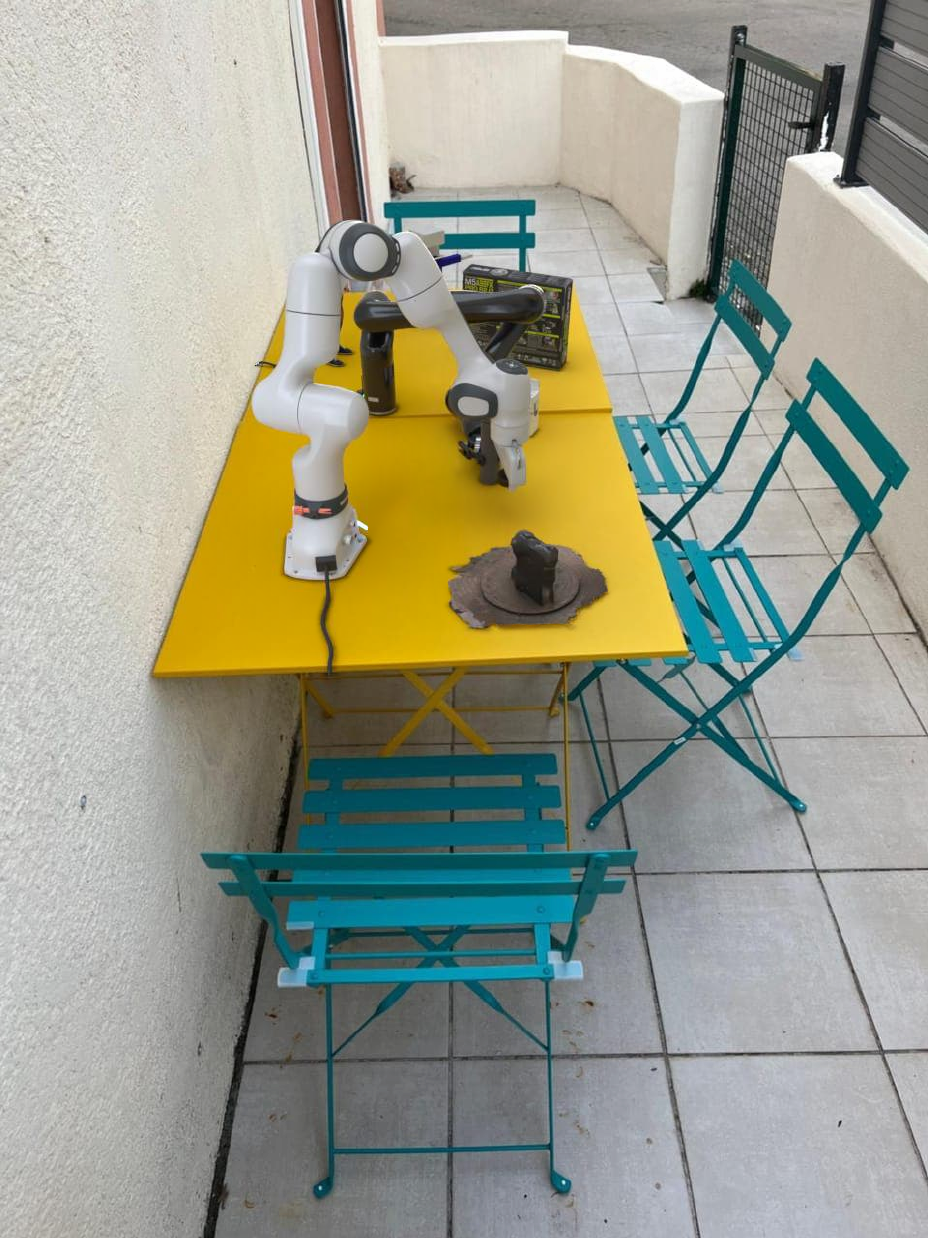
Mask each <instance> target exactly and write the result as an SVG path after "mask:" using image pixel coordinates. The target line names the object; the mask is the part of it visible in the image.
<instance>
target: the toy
mask: <svg viewBox="0 0 928 1238" xmlns="http://www.w3.org/2000/svg"><path fill="white" fill-rule="evenodd" d="M408 232H412V233H414V234H416V235H417V236H418V237H419V238H420V239H421V240H422V242H423V243H424V244H425V246H426V247H427V249H428V250H429V252H430V253H431V255H432V256H433V258H434V260H435V262H436V263H437V265H438V267H439V269H440V271H441V273H442V274H443V268H444V267H448V266H451V265H455V264H458V263H461V262H462V261H465V260H468V259H471V258H474V255H473V253H471V252H468V251H466V252H462V253H460V254H459V253H454V254H451V255H447V256H445V254H440V246H441V245H444V244H445V240H446V239H445V230H444V229H442V228H439V227H437V226H434V225H431V224H430V223H429V224H425V225H421V226H417V227H413V228H410V229H408Z"/></svg>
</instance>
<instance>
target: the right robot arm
mask: <svg viewBox="0 0 928 1238" xmlns="http://www.w3.org/2000/svg"><path fill="white" fill-rule="evenodd" d="M449 290H450V289H449ZM450 292H451V294H452V297H453V299H454V300H455V302H456V304H457V306H458V307H459V309H460V310H461V312H462V314H463V315H464V317H465V319H466V321H467V323H468V324H469V325H477V324H483V323H489V322H503V323H502V325H501V326H500V328H499V329H498V331H497V332H496V333H495V335H494V336H493V337H492V339H491V340H490V341H489V343H488V344H487V345H486V346H485V348H484V351H485V352H486V353H487V354H489V355H490V356H491V357H492V358H493V359H494V360H495V361H496V362H497V361H498V360H500V359H507V358H508V357H509V355H510V353H511V352H512V350H513V348H514V347H515V345H516V344H517V342H518V341H519V339H520V338H521V337H522V335H523V334H524V333H525V331H526V330H527V329H528V328H529V327H530V326H531V325H532V324H533V323H534V322H536V321H537V320H538V319H540V318H541V316H542V315H543V314H544V312H545V310H546V306H547V299H546V295H545V293H544V291H543V290H542V289H541V288H540V287H538V286H536V285H525V286H522V287H520V288H519V289H515V290H510V291H503V292H495V293H484V292H477V291H468V290H463V289H451V290H450ZM352 317H353V322H354V324H355V326H356V327H357V328H358V329H359V330H361V331H360V332H361V333H360V339H359V354H360V355H359V356H360V365H361V376H360V379H361V380H360V381H361V388H360V389H358V390H357V389H356V393H359V394H361V395H362V396H363V397H364V399H365V400H366V402H367V405H368V408H369V415H372V416H386V415H387V416H388V415H391V414H393V413H394V412H396V411H397V408H398V403H397V390H396V389H397V388H396V375H395V374H396V373H395V359H394V340H395V331H399V330H406V329H418V328H417V327H415V326H413V325H411V324H410V322H409V321H408V320H407V319H406V317H405V316H404V314H403V313H402V311H401V310H400V308H399V306H398V304H397V302H396V301H391V298H390V297H389V296H388V295H387V294H386V293H385V292H384V291H381V290H378V289H372V290H369V291H367V292H365V293H364V294H362V296H361V298H360V299H359V301H358V303H357V304H356V305H355V307H354V309H353V314H352ZM258 362H259V364H257V366H259V365H267V366H271V367H274V368H275V367H276V366H277V364H276V363H272V362H270V361H263V360H260V361H258ZM451 388H452V386H451V387H450V388H449V389H448V390H447V391H446V393H445V396H444V405H445V408H446V409H447V411H448V412H449V413H450V414H451V416H452V417H454V418H455V419H456V420H457V421H458V424H459V426H460V428H461V432H462V436H464V439H465V440H466V442H464V441H463V440H458V441H457V444H458V445H457V451H458V452H459V453H460V454H461V455H462V456H463V457H464V458H465V459H466V460H467V461H471V460H472V459H473V460H474V461H475V463H476V465H478V466H479V467H480V468H481V467H482V466H484V460H483V457H482V455H481V420H466V419H463V418H461V417H459V416H457V415H456V414H455V413H454V412H453V411H452V409H451V407H450V405H449V399H448V398H449V393H450V391H451Z"/></svg>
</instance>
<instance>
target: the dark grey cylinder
mask: <svg viewBox="0 0 928 1238" xmlns="http://www.w3.org/2000/svg"><path fill="white" fill-rule="evenodd" d="M481 455H482V457H483V460H484V466H482V467H480V482H481V483H482V484H484V485H488V486H494V485H497V484H498V483H497V473H498V471H500V470H501V461H500V458H499V456H498V453H497V451H496V448H495V446H494V442H493V440H492V439H491V424H490V419H485V420H481Z"/></svg>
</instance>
